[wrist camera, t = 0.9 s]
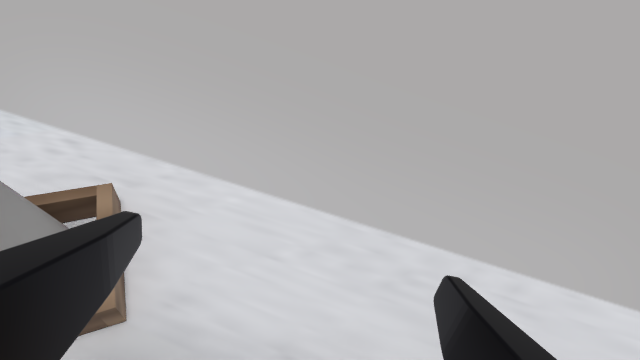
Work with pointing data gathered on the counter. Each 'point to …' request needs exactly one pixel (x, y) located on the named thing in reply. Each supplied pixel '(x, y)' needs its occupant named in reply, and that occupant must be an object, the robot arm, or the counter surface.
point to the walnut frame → (98, 204)
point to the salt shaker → (23, 220)
